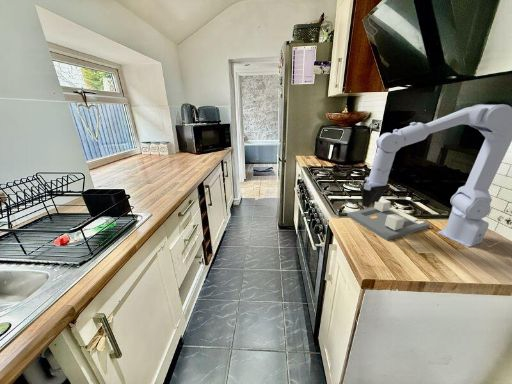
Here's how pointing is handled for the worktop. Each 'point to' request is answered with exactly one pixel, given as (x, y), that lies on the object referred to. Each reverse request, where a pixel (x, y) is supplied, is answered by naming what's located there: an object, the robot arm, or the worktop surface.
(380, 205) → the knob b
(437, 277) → the worktop surface
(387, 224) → the white cube
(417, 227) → the switch unit
